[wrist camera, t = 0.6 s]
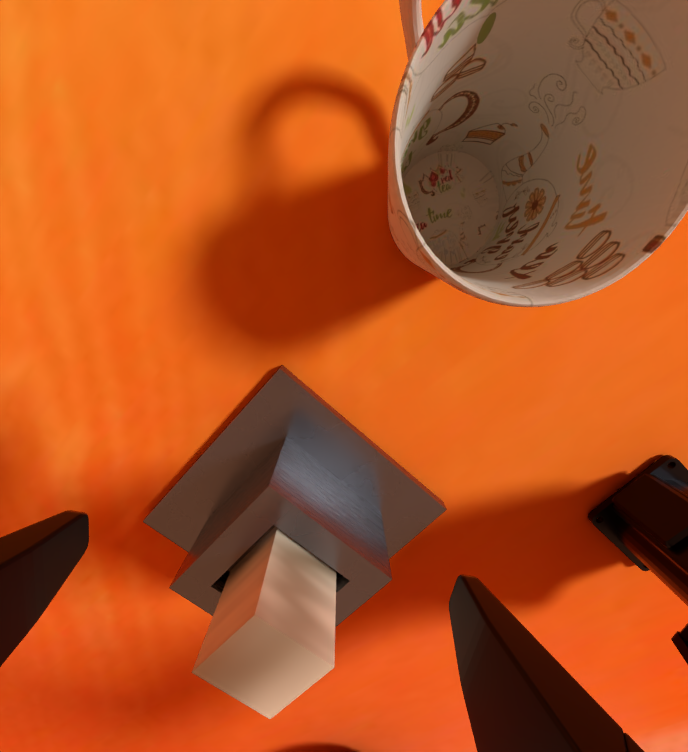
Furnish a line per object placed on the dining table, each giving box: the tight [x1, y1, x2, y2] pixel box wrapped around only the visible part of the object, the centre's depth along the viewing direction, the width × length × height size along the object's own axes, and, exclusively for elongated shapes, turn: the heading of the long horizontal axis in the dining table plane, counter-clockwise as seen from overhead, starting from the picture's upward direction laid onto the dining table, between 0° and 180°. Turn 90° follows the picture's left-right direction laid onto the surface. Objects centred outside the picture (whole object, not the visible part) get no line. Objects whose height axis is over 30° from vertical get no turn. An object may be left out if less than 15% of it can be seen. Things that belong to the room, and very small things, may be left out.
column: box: [192, 525, 336, 719], centre depth 18 cm, size 4×4×9 cm
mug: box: [388, 0, 688, 307], centre depth 13 cm, size 8×13×10 cm, turn 26°
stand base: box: [143, 365, 446, 627], centre depth 20 cm, size 14×14×7 cm
